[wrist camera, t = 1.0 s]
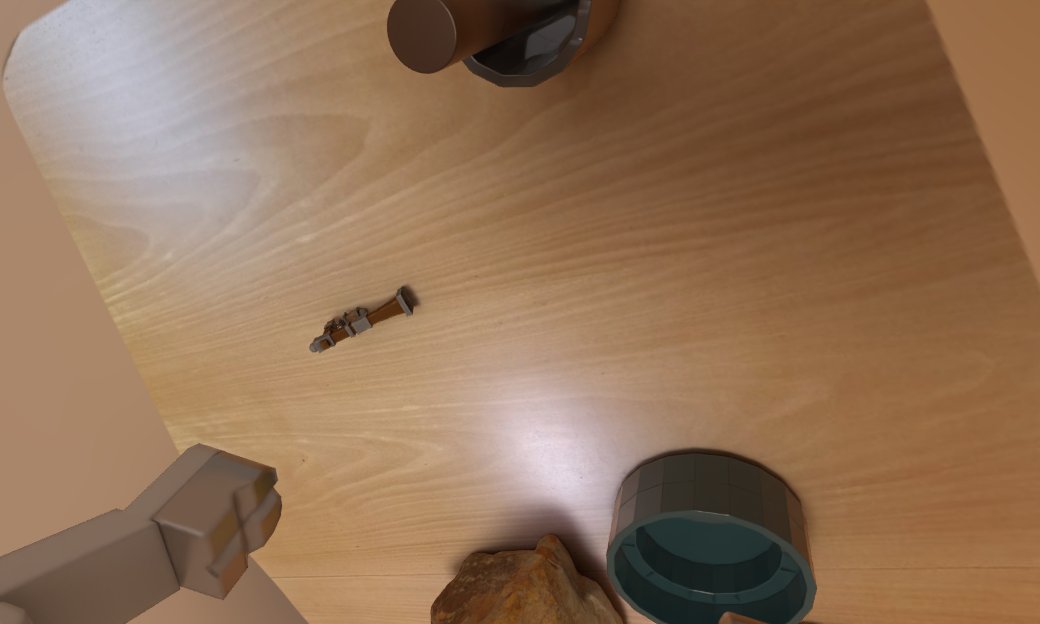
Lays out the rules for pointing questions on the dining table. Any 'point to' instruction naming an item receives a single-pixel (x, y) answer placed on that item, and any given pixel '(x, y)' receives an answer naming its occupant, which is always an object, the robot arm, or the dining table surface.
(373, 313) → the wooden lamp post
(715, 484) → the bowl
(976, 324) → the dining table surface
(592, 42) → the holder
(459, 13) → the stick
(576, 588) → the orange rock
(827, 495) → the dining table surface
